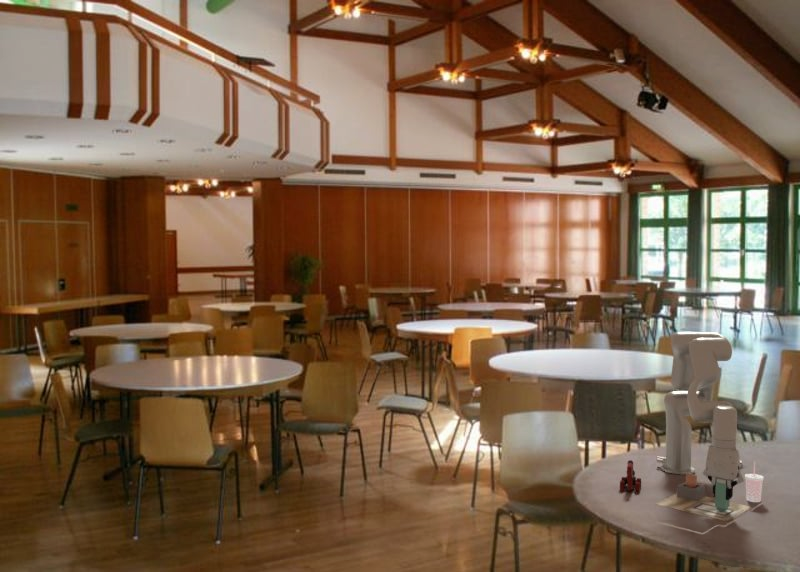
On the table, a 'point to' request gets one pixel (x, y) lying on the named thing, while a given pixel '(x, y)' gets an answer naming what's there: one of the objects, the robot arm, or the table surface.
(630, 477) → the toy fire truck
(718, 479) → the green and white block
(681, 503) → the board
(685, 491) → the button housing
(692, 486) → the button
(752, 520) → the table surface
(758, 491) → the beverage cup
